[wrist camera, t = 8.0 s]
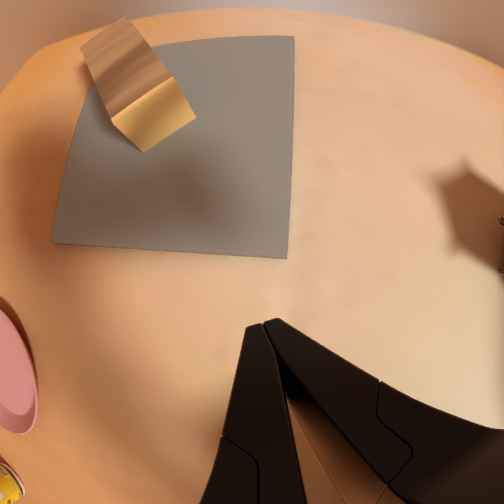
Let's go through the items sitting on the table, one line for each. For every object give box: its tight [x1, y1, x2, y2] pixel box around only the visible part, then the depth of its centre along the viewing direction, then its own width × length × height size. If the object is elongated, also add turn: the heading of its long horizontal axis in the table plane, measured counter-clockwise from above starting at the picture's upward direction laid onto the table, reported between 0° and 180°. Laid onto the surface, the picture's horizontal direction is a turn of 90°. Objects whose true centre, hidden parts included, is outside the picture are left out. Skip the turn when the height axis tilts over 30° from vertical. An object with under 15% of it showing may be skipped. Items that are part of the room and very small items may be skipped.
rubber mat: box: [51, 36, 294, 259], centre depth 23 cm, size 20×20×1 cm
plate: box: [0, 309, 38, 435], centre depth 22 cm, size 14×14×2 cm
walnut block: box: [80, 16, 196, 153], centre depth 21 cm, size 5×5×12 cm
